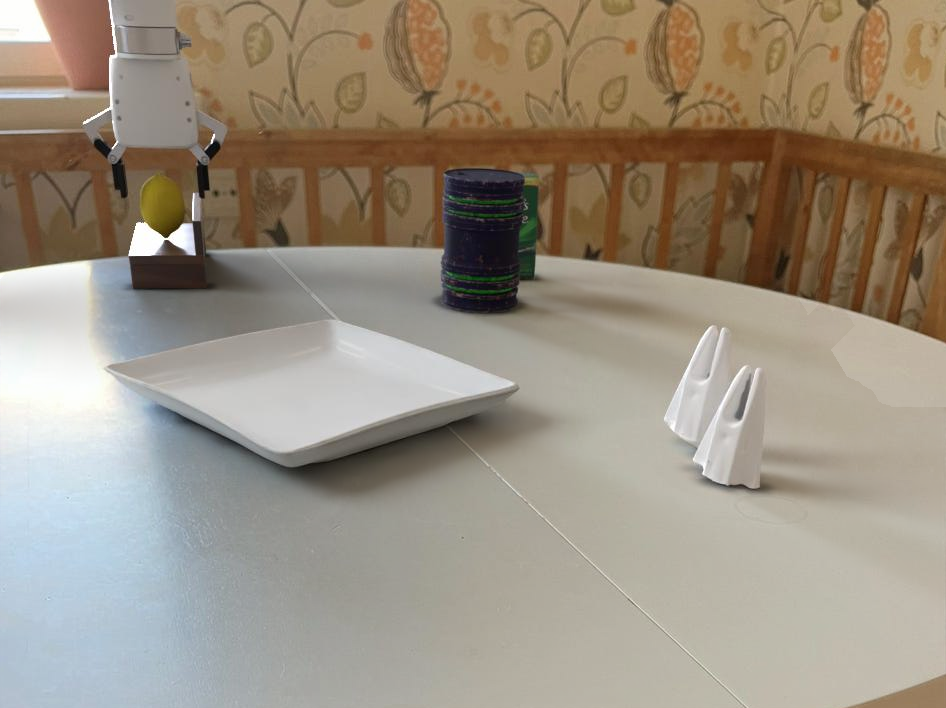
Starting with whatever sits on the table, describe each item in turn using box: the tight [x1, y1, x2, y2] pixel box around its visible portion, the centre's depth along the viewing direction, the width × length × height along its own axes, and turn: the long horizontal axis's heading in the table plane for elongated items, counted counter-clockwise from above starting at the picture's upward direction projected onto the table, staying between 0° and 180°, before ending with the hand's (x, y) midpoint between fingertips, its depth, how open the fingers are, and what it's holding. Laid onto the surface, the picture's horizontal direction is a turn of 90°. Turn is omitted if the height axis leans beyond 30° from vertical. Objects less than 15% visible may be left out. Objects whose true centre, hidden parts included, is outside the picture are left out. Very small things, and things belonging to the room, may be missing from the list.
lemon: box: [139, 172, 186, 239], centre depth 135 cm, size 6×6×8 cm
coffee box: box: [518, 173, 540, 280], centre depth 141 cm, size 8×3×13 cm, turn 95°
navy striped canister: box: [440, 167, 525, 314], centre depth 128 cm, size 10×10×15 cm
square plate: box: [102, 318, 520, 468], centre depth 95 cm, size 27×27×4 cm
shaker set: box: [663, 324, 767, 490], centre depth 87 cm, size 12×4×11 cm, turn 14°
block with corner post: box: [128, 192, 208, 290], centre depth 138 cm, size 20×9×8 cm, turn 13°
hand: (163, 196), depth 135 cm, fingers open, 9 cm apart
